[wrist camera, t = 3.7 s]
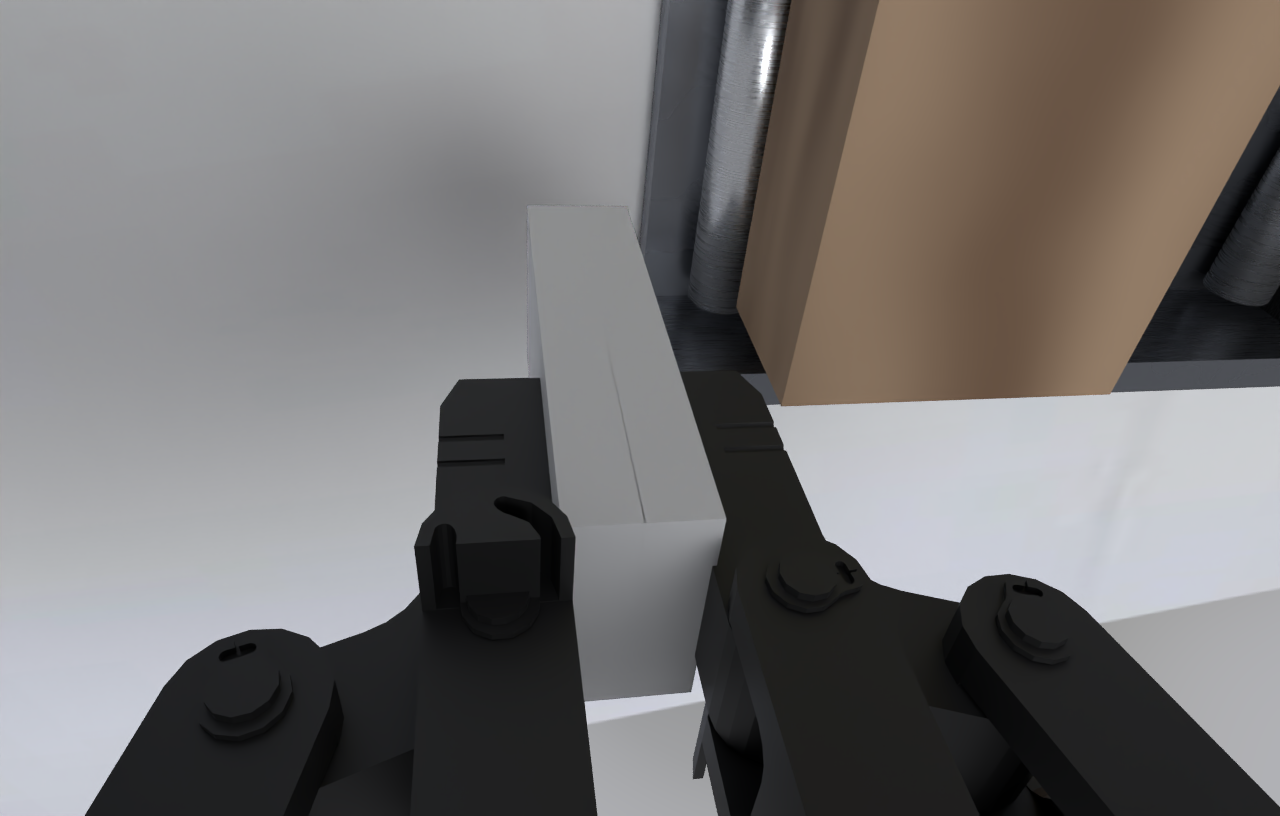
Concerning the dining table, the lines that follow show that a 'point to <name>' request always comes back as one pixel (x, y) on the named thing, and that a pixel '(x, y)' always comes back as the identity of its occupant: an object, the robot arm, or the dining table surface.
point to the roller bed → (724, 340)
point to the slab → (989, 188)
